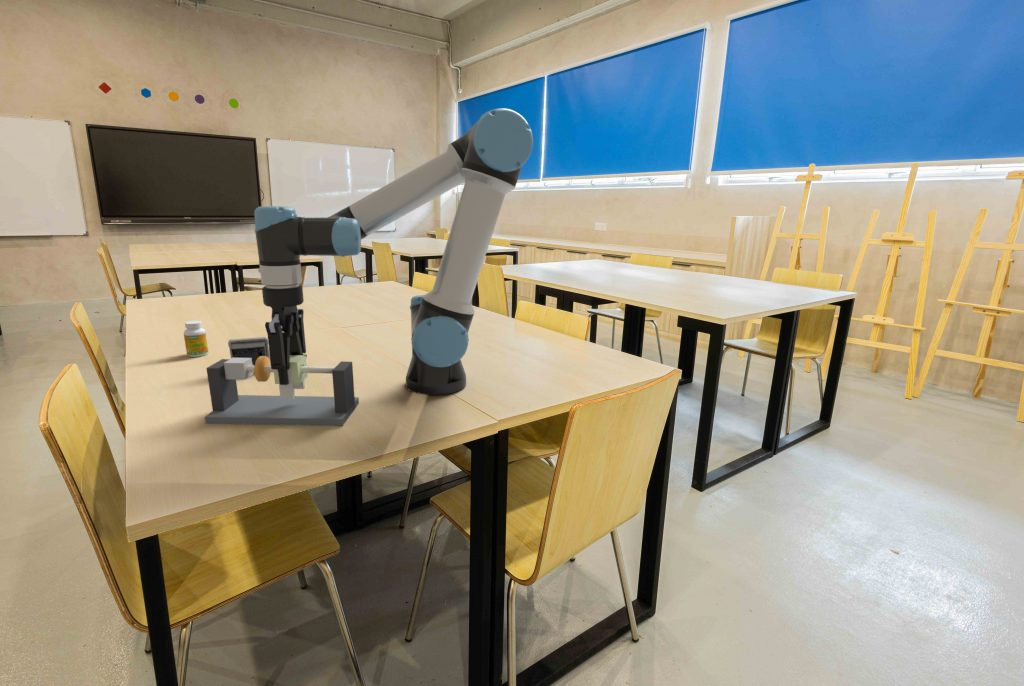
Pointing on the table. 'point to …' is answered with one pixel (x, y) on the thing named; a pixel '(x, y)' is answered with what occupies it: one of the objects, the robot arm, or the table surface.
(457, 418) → the table surface
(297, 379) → the pale green sliding cube
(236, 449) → the table surface
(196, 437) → the table surface
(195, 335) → the supplement bottle
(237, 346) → the electrical switch
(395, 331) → the table surface
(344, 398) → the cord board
